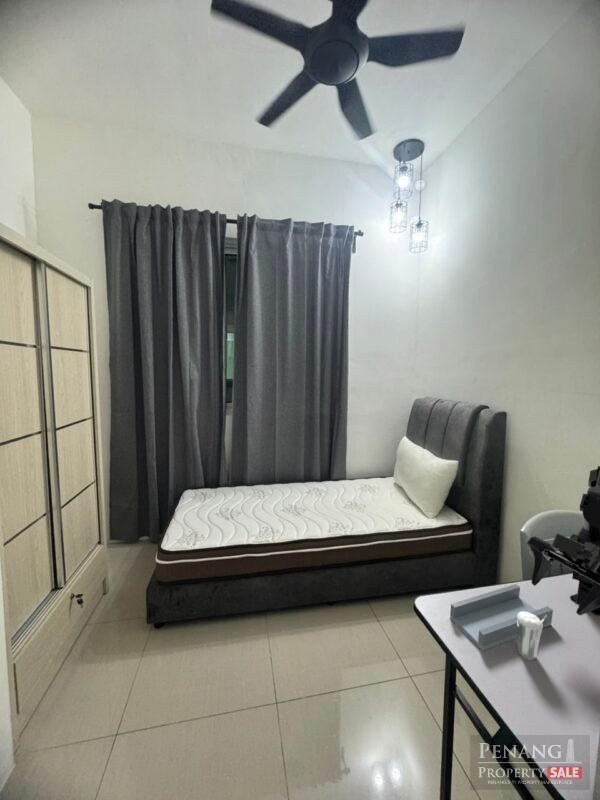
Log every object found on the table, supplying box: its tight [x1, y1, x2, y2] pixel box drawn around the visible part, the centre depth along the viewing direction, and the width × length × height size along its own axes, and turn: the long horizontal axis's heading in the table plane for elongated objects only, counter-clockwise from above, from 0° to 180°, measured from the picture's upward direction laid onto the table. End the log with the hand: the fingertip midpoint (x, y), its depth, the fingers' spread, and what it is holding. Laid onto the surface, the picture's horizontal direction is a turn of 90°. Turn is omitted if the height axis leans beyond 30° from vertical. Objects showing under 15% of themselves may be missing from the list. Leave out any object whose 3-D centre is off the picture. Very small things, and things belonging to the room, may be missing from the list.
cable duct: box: [449, 583, 554, 652], centre depth 78 cm, size 22×9×4 cm, turn 109°
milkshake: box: [517, 611, 547, 661], centre depth 69 cm, size 4×5×10 cm
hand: (554, 598), depth 70 cm, fingers open, 9 cm apart
